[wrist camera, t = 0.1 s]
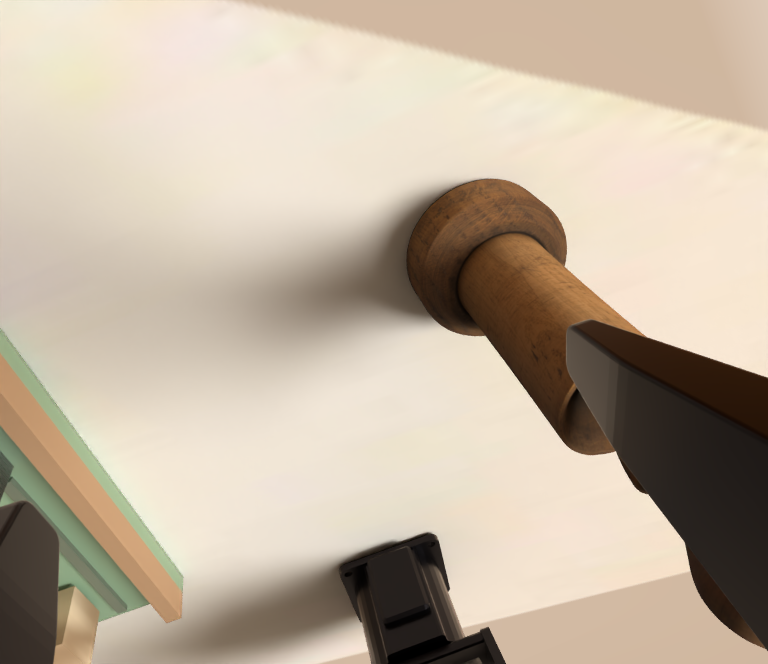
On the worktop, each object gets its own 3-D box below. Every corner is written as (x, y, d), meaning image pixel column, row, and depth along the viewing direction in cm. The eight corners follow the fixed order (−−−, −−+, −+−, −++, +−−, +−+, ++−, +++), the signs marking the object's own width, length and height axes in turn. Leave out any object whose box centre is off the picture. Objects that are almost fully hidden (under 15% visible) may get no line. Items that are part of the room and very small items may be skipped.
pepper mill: (483, 144, 23) (961, 465, 8) (569, 234, 26) (1014, 573, 12) (375, 264, 25) (615, 705, 10) (469, 334, 28) (749, 738, 13)
